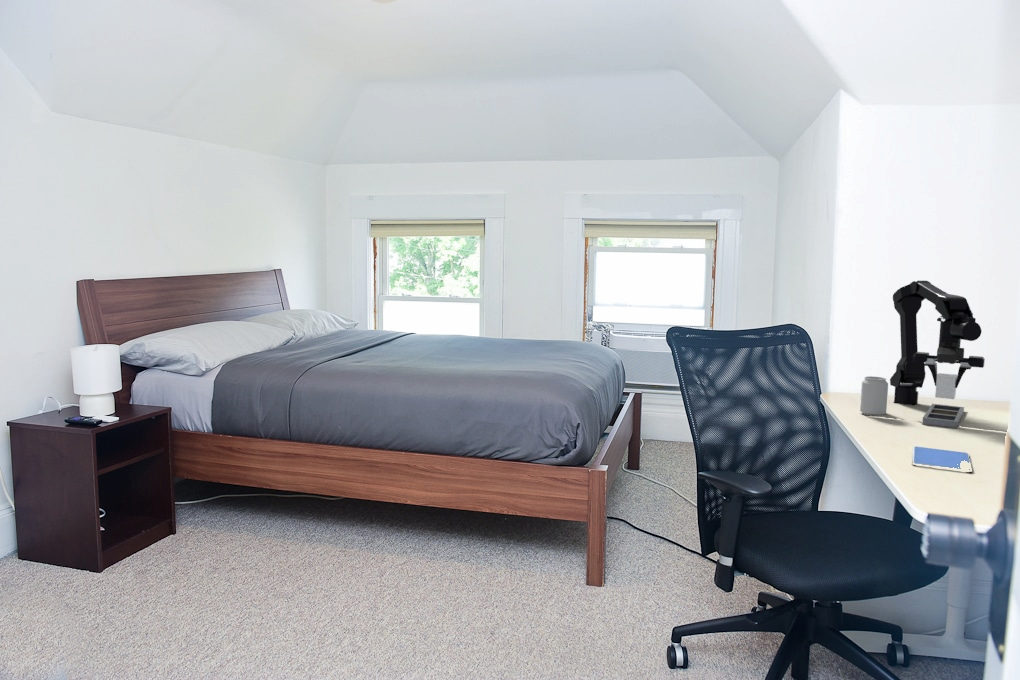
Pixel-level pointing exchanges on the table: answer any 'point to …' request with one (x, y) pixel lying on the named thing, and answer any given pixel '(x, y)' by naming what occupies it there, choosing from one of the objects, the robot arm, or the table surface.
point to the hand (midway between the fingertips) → (946, 387)
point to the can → (874, 396)
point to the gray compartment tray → (943, 416)
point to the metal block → (946, 386)
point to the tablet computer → (939, 457)
